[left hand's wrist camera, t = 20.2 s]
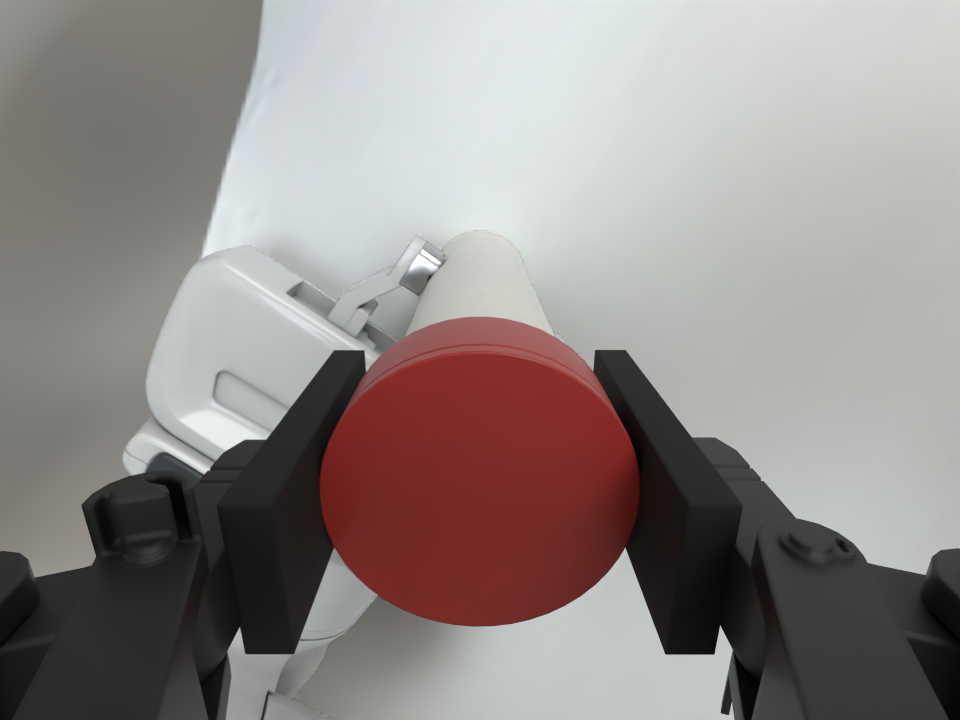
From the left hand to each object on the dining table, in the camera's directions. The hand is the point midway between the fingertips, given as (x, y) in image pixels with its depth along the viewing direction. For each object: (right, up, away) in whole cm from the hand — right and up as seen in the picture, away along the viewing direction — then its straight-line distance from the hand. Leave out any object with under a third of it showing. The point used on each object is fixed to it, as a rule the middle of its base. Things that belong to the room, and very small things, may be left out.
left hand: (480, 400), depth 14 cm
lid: (0, -1, -4) cm, 4 cm away
